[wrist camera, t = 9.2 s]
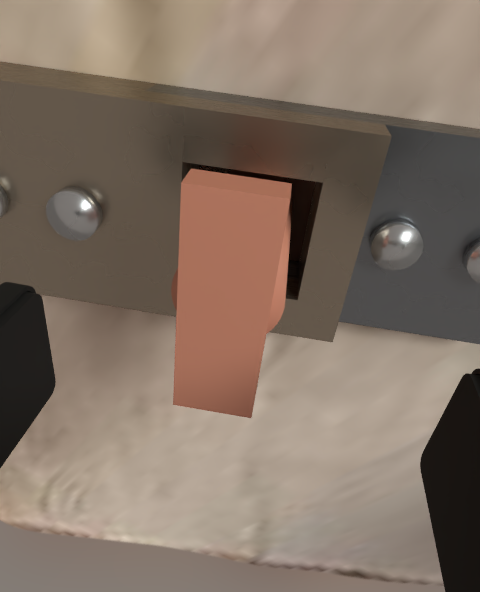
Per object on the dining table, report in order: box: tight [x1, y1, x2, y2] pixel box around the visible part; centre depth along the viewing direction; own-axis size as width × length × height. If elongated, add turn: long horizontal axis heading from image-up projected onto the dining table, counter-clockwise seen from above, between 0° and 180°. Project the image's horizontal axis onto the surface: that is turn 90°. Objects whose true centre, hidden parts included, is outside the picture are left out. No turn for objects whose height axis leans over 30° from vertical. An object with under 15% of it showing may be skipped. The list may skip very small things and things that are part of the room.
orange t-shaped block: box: [171, 169, 293, 418], centre depth 15 cm, size 3×7×8 cm, turn 174°
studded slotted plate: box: [0, 62, 480, 344], centre depth 17 cm, size 22×8×4 cm, turn 84°
